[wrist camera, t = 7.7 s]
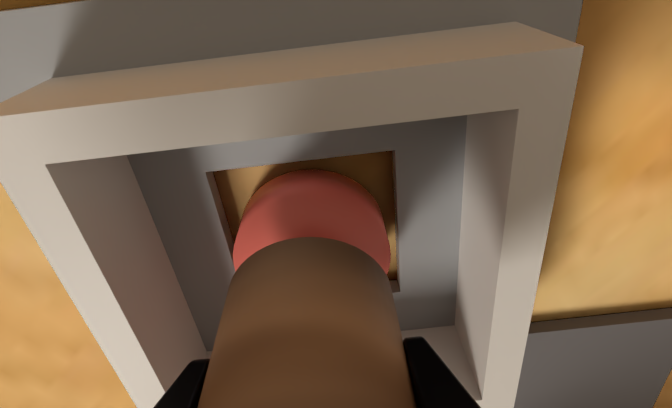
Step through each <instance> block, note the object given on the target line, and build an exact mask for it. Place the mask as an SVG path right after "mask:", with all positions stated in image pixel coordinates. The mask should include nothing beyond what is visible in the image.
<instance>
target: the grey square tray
mask: <svg viewBox="0 0 672 408" xmlns="http://www.w3.org/2000/svg"><path fill="white" fill-rule="evenodd" d="M582 4H583V0H80V1H72V2H65V3H57V4H49V5H41V6H33V7H25V8H17V9H9V10H1V11H0V182H1V184H2V185H3V187H4V189H5V190H6V192H7V194H8V195H9V197H10V199H11V200H12V202H13V204H14V205H15V207H16V208H17V210H18V212H19V213H20V215H21V217H22V218H23V220H24V222H25V223H26V225H27V227H28V228H29V230H30V232H31V233H32V235H33V237H34V238H35V240H36V242H37V243H38V245H39V246H40V248H41V250H42V251H43V253H44V255H45V256H46V258H47V260H48V261H49V263H50V265H51V266H52V268H53V270H54V271H55V273H56V275H57V276H58V278H59V280H60V281H61V283H62V284H63V286H64V288H65V289H66V291H67V293H68V294H69V296H70V298H71V299H72V301H73V303H74V304H75V306H76V308H77V309H78V311H79V313H80V314H81V316H82V318H83V319H84V321H85V322H86V324H87V326H88V327H89V329H90V331H91V332H92V334H93V336H94V337H95V339H96V341H97V342H98V344H99V346H100V347H101V349H102V351H103V352H104V354H105V355H106V357H107V359H108V360H109V362H110V364H111V365H112V367H113V369H114V370H115V372H116V374H117V375H118V377H119V379H120V380H121V382H122V384H123V385H124V387H125V389H126V390H127V392H128V393H129V395H130V397H131V398H132V400H133V402H134V403H135V405H136V407H137V408H153V407H154V406H155V405H156V403H157V402H158V401H159V400H160V398H161V397H162V396H163V395H164V393H165V392H166V391H167V390H168V389H169V387H170V386H171V385H172V384H173V382H174V381H175V380H176V379H177V377H178V376H179V375H180V374H181V372H182V371H183V370H184V369H185V367H186V366H187V365H188V364H189V363H190V362H191V361H193V360H197V359H206V358H209V359H210V358H211V354H212V350H213V346H214V342H215V339H216V335H217V331H218V327H219V323H220V319H221V316H222V312H223V308H224V304H225V300H226V296H227V293H228V289H229V285H230V282H231V279H232V277H233V276H234V274H235V268H234V264H233V249H234V242H233V239H232V235H231V232H230V229H229V225H228V222H227V218H226V215H225V212H224V208H223V205H222V202H221V198H220V195H219V191H218V188H217V185H216V181H215V178H214V175H213V171H219V170H228V169H237V168H245V167H254V166H263V165H271V164H280V163H288V162H297V161H306V160H314V159H323V158H331V157H340V156H349V155H357V154H366V153H375V152H383V151H392V160H393V184H394V209H395V233H396V257H397V280H391V281H389V282H390V285H391V289H392V294H393V298H394V303H395V308H396V312H397V317H398V321H399V326H400V330H401V335H402V339H403V340H404V338H406V337H415V336H422V337H424V338H425V339H426V340H427V342H428V343H429V344H430V345H431V347H432V348H433V349H434V350H435V352H436V353H437V354H438V355H439V357H440V358H441V359H442V360H443V361H444V363H445V364H446V365H447V366H448V368H449V369H450V370H451V371H452V373H453V374H454V375H455V376H456V377H457V379H458V380H459V381H460V382H461V384H462V385H463V386H464V387H465V389H466V390H467V391H468V392H469V393H470V395H471V396H472V397H473V398H474V400H475V401H476V402H477V403H478V405H479V406H480V407H481V408H514V404H515V398H516V393H517V388H518V383H519V378H520V373H521V368H522V363H523V357H524V352H525V347H526V342H527V337H528V332H529V327H530V322H531V316H532V311H533V306H534V301H535V296H536V291H537V286H538V281H539V275H540V270H541V265H542V260H543V255H544V250H545V245H546V240H547V234H548V229H549V224H550V219H551V214H552V209H553V204H554V199H555V193H556V188H557V183H558V178H559V173H560V168H561V163H562V158H563V152H564V147H565V142H566V137H567V132H568V127H569V122H570V117H571V111H572V106H573V101H574V96H575V91H576V86H577V81H578V76H579V70H580V65H581V60H582V55H583V50H584V46H583V45H580V44H577V43H575V42H576V36H577V31H578V25H579V20H580V15H581V9H582Z"/></svg>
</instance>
